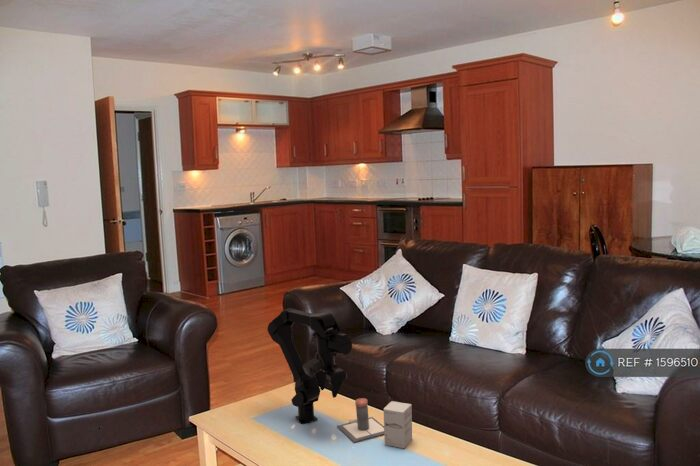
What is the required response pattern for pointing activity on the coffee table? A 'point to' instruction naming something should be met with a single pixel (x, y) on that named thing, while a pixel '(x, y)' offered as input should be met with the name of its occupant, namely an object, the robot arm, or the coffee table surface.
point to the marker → (362, 414)
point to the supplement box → (398, 424)
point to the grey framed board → (358, 435)
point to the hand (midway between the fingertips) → (328, 393)
